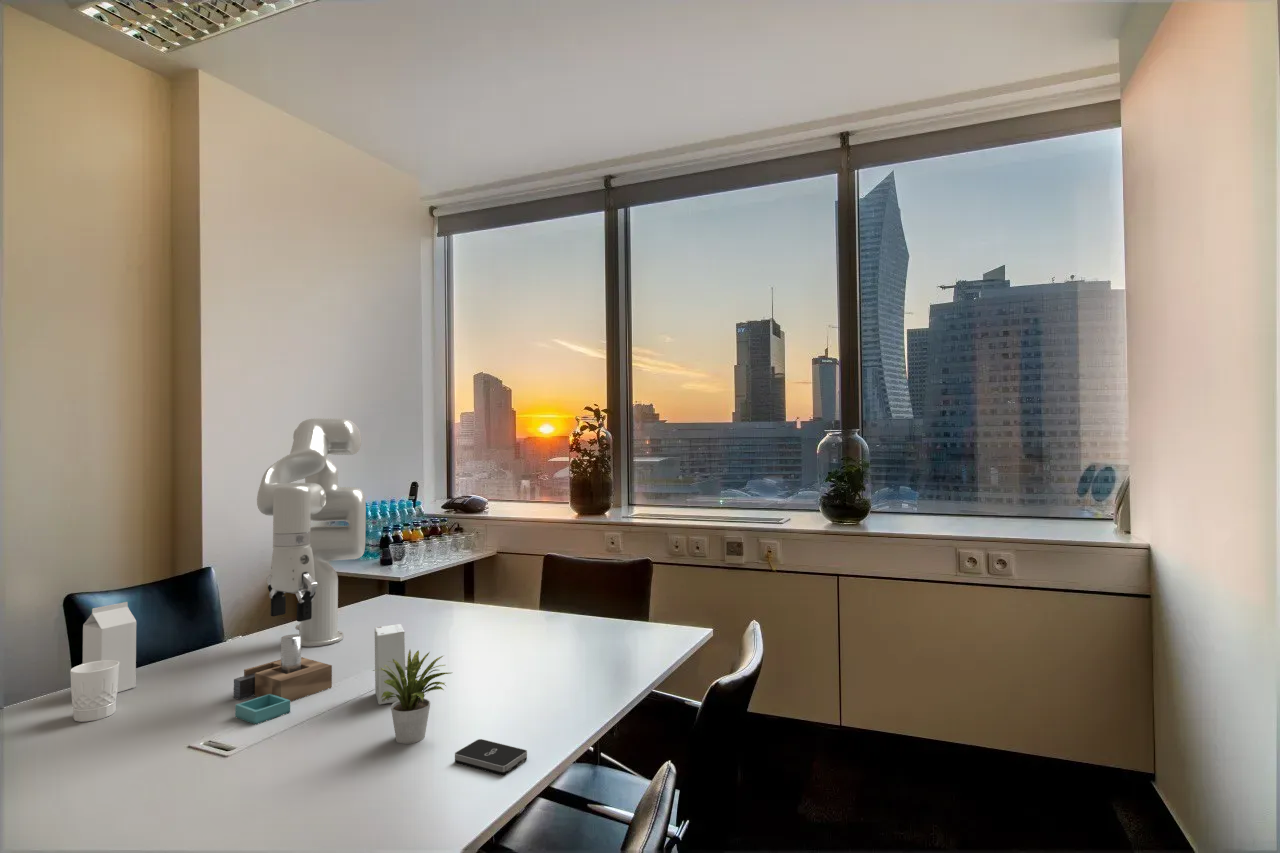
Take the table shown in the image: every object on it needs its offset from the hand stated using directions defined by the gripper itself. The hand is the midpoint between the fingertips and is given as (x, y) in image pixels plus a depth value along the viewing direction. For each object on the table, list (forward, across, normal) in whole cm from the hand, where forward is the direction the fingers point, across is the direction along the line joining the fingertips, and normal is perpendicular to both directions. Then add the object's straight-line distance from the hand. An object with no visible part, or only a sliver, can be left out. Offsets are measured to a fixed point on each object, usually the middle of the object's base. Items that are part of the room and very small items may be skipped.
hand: (290, 617), depth 156 cm
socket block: (+16, +1, -1) cm, 16 cm away
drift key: (+16, +6, +4) cm, 18 cm away
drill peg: (+16, +1, -1) cm, 16 cm away
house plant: (+17, -42, +3) cm, 46 cm away
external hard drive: (+18, -61, +1) cm, 64 cm away
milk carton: (+16, +36, +20) cm, 44 cm away
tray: (+17, -7, +10) cm, 21 cm away
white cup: (+17, +22, +28) cm, 39 cm away
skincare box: (+17, -21, -10) cm, 29 cm away
